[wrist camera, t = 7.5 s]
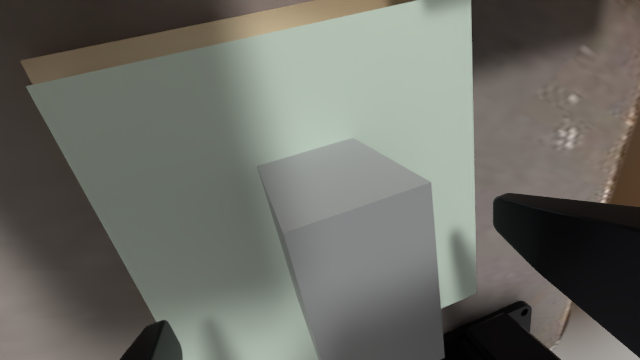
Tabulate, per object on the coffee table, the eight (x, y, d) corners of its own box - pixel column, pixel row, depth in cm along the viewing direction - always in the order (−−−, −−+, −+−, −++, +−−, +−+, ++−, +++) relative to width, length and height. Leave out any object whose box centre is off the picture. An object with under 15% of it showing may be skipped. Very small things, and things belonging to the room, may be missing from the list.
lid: (447, 266, 16) (566, 373, 10) (206, 364, 14) (201, 563, 8) (429, -1, 11) (627, -55, 6) (62, 80, 9) (-162, 113, 4)
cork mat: (450, 267, 17) (458, 273, 16) (195, 370, 14) (194, 382, 14) (435, -23, 12) (445, -26, 11) (30, 60, 9) (19, 60, 9)
